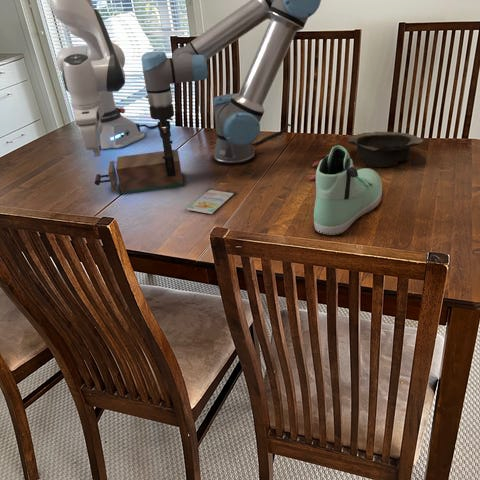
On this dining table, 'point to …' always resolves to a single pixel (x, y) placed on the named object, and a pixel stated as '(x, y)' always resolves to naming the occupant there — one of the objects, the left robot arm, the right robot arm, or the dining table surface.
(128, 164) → the cabinet
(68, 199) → the dining table surface
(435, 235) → the dining table surface
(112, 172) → the drawer
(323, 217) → the sneaker
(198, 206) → the baking ingredient package
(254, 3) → the right robot arm
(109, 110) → the left robot arm
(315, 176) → the candy cane
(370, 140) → the stone bowl
